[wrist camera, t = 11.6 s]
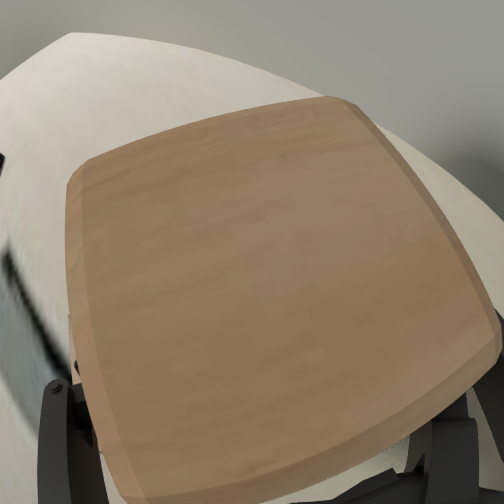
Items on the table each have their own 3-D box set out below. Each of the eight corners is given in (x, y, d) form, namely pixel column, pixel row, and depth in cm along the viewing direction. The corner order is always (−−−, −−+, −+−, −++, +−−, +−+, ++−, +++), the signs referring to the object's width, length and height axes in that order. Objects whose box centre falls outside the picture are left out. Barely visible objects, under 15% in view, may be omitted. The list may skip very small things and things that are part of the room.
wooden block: (186, 319, 25) (57, 160, 7) (291, 283, 26) (349, 83, 9) (223, 426, 21) (123, 537, 3) (334, 384, 22) (524, 349, 4)
